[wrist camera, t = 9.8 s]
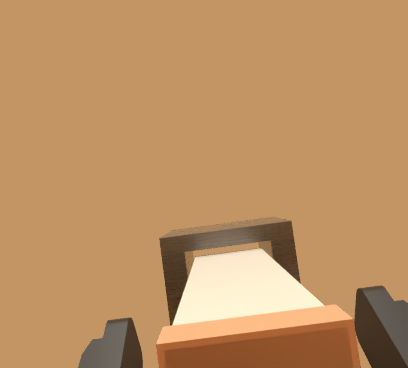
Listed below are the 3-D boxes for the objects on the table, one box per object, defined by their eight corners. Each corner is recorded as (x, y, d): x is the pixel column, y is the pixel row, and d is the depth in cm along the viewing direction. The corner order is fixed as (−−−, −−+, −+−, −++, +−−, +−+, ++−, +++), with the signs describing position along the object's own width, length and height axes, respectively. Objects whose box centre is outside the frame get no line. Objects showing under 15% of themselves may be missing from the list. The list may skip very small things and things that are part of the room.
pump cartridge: (181, 550, 8) (155, 344, 8) (202, 325, 23) (192, 254, 23) (384, 526, 8) (353, 318, 8) (273, 316, 23) (263, 245, 23)
